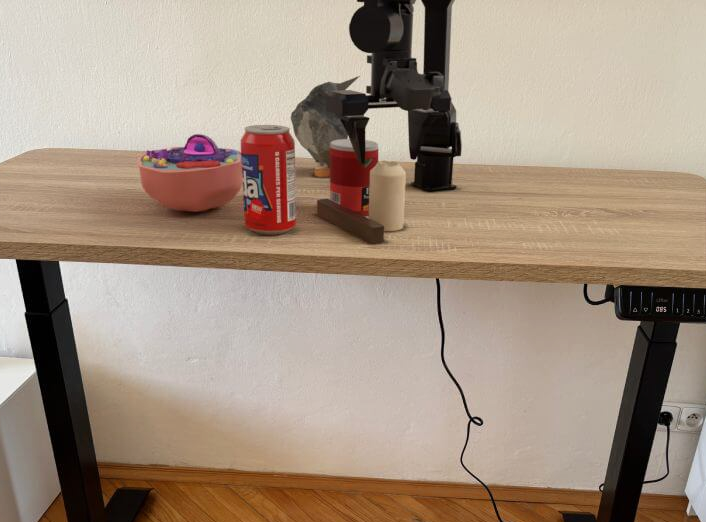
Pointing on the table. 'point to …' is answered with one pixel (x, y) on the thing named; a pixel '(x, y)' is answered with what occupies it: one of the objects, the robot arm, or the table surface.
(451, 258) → the table surface
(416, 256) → the table surface
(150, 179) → the cell model
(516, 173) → the table surface
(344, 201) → the canned food
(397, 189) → the candle
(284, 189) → the soda can
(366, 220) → the walnut rail
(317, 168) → the grey bird figurine
